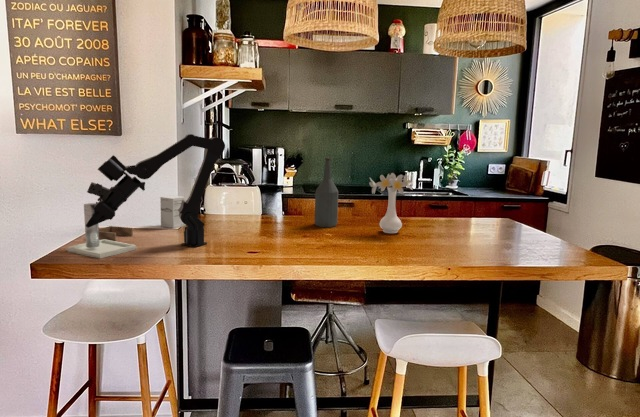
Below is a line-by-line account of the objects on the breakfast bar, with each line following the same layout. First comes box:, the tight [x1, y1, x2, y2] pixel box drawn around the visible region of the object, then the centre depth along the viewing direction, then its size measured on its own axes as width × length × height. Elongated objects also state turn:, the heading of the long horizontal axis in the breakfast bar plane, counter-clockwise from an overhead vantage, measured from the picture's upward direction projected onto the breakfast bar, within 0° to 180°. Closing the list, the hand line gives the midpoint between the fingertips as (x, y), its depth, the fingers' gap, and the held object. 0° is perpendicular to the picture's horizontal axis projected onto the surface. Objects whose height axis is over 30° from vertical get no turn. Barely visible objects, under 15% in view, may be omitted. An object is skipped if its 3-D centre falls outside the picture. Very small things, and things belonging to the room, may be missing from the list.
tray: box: [66, 239, 137, 260], centre depth 156 cm, size 16×14×2 cm
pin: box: [83, 202, 100, 248], centre depth 154 cm, size 4×4×14 cm
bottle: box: [314, 157, 339, 228], centre depth 207 cm, size 10×10×30 cm
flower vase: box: [368, 172, 413, 234], centre depth 196 cm, size 13×18×25 cm
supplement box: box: [160, 195, 186, 229], centre depth 197 cm, size 7×7×13 cm
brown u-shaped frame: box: [99, 225, 134, 241], centre depth 175 cm, size 10×10×3 cm
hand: (87, 225), depth 153 cm, fingers closed on pin, 4 cm apart
